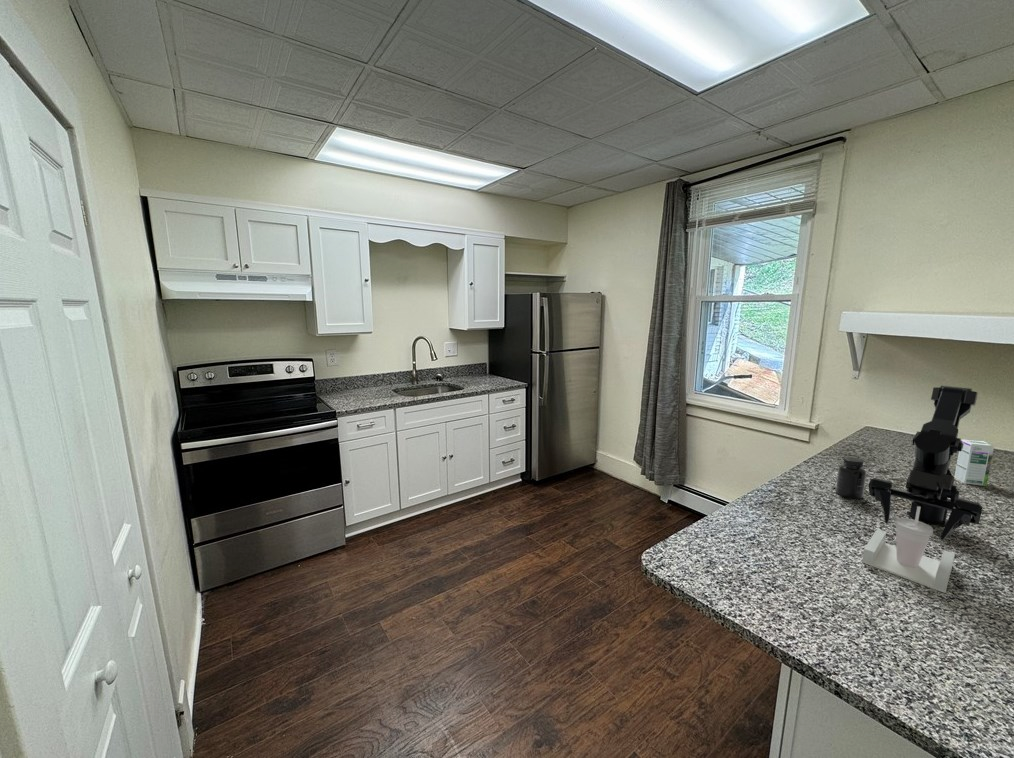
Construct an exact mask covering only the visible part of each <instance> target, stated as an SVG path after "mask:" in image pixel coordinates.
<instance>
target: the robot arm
mask: <svg viewBox="0 0 1014 758" xmlns="http://www.w3.org/2000/svg"><path fill="white" fill-rule="evenodd" d="M930 400H931V401H933V405H934V409H935V410H934V411H933V412H934V413H933V416H932V418H931V421H927V422H926V423H923V424H922V427H921V430H920V431H916V433H915V434H914V436H913V438H912V446H914V457H915V459H914V462H913V466H912V469H910V471H909V476H908V477H907V480H906V483H905V489H906V490H904V489H901V488H896V487H893V481H890V480H886V479H885V480H884V479H881V478H877V477H873V478H871V479H870V480H869V484H868V492H869V493H868V494H869V496H871V497H874V499H875V500H876V501H877V502H880V505H881V507H882V510H883V515H884V522H885V524H886V525H888V524H889V522H890V516H891V515H890V514H891V507H892V506H891V504H892V500H891V498H892V496H893V497H897V498H901V499H903V500H904V499H905V500H908V501H911V506H910V509H909V510H910V511H906V514H907V515H909V516H910V517H912V518H914V519H915V517H916V511H917V506H920V507H921V509H920V514H919V520H918V521H920V522H923V523H925V524H927V525H929V526H931V525H932V526H933V525H934V526H943V528H942V529H943V530H942V531H941V534H940V541H942V542H944V541H945V540H946V538H948V537H949V536H950V534H951V533H953V532H954V531H955V530H956V529H958V528H959V527H961V526H963V525H964V526H970V524H973V525H980V521H981V516H982V511H983V506H982V505H981V503H980V502H976V501H971V500H967V499H963V498H959V497H960V491H959V489H958V488H957V485H955V484H954V483H955V479H954V478H955V477H954V475H953V474H952V473H951V470H950V469H949V468H950V465H951V461H952V460H951V459H952V456H954V454H959V451H961V450H962V449H963V443H962V441H961V440H962V438H961V437H958V435H959V427H960V426H959V425H960V421H961V419H963V418H964V417H965V416H967V415H968V414H970V413H971V409H972V406H974V407H975V406H976V404H977V400H978V392H977V391H974V390H973V389H972V388H969V387H960V386H959V387H958V386H949V385H942V384H941V385H940V386H939V387H936V386H935V387H932V394H931V397H930ZM949 511H950V514H949V517H948V519H947V515H948V512H949ZM946 520H947V521H946Z"/></svg>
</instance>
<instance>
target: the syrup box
mask: <svg viewBox="0 0 1014 758" xmlns="http://www.w3.org/2000/svg"><path fill="white" fill-rule="evenodd" d="M961 441H962V443H963V449H962V450H961V451H958V456H957V461H956V467H955V472H954V478H955V479H956V480H958V481H959V482H961V483H963V484H965V485H974V486H984V487H987V485H988V479H989V475H990V470H991V465H992V461H993V455H994V451H995V445H993V444H992V443H989V442H987V441H983V440H971V439H962V438H961Z"/></svg>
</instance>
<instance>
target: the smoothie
mask: <svg viewBox="0 0 1014 758" xmlns="http://www.w3.org/2000/svg"><path fill="white" fill-rule="evenodd" d="M920 509H921V507H920V506H917V511H916V517H915V518H914V519H912V518H907V517H898V518H895V521H894V525H895V526H896V527H895V528H896V529H895V531H896V533H895V534H896V537H895V538H896V540H895V542H896V543H895V545H896V553H897V561H898V562H899V563H901V564H903V565H906V566H909V567H918V566H919V563H920V561H921V558H922V556H924V553H925V550H926V548H927V545H928V543H929V541H930V537H931V536H933V535H934V528H933V527H932V526H931V525H929V524H925V523H923V522H920V521H918V520H919V514H920Z"/></svg>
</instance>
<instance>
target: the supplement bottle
mask: <svg viewBox="0 0 1014 758" xmlns="http://www.w3.org/2000/svg"><path fill="white" fill-rule="evenodd" d="M863 467H864V460H863V459H861V458H858V457H851V456H844V457H843V462H842V465H840V466H839V467H838V470H837V478H836V484H835V485H836V486H835V492H836V493H837V494H838V495H839V496H842V497H845V498H848V499H853V500H859V499H862V498H863V497H864V492H865V491H864V490H865V486H866V485H865V484H866V477H867V471H866V470H865V469H864V468H863Z"/></svg>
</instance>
